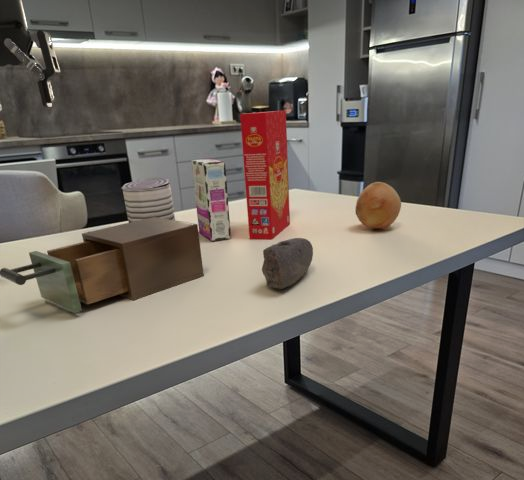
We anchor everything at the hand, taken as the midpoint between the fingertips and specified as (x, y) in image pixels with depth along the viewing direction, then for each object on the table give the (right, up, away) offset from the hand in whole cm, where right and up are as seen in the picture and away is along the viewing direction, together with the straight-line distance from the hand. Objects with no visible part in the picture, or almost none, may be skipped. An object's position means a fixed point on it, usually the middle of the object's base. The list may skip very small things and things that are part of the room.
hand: (22, 109), depth 79 cm
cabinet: (+20, -28, +5) cm, 34 cm away
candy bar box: (+29, -13, +33) cm, 45 cm away
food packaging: (+42, -12, +33) cm, 55 cm away
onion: (+66, -13, +29) cm, 73 cm away
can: (+13, -11, +40) cm, 43 cm away
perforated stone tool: (+44, -28, +1) cm, 53 cm away
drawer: (+11, -31, -3) cm, 33 cm away
